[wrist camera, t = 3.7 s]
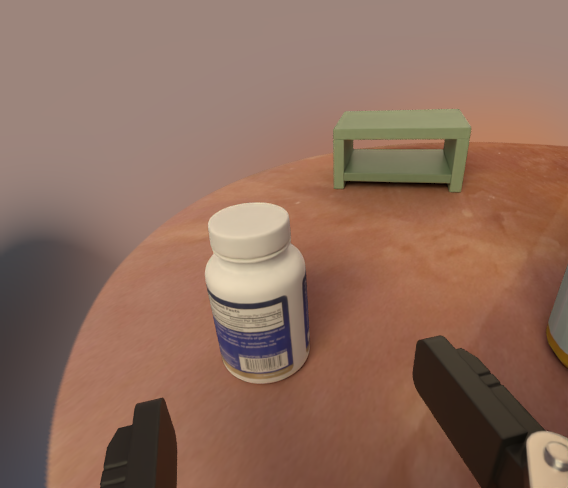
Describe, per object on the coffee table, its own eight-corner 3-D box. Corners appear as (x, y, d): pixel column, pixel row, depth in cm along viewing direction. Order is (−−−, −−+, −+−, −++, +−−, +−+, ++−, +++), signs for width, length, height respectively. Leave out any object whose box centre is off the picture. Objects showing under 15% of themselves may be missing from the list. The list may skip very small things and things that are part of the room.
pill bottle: (257, 312, 26) (242, 190, 22) (325, 339, 23) (322, 206, 19) (203, 363, 22) (171, 228, 18) (276, 402, 20) (259, 254, 15)
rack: (451, 164, 50) (459, 108, 47) (461, 192, 42) (471, 127, 38) (344, 163, 54) (344, 111, 50) (333, 188, 45) (333, 128, 42)
